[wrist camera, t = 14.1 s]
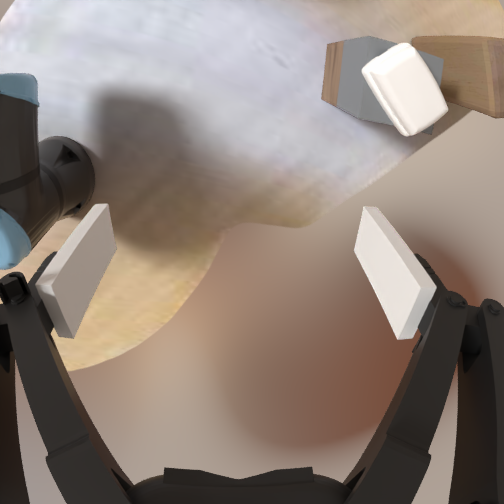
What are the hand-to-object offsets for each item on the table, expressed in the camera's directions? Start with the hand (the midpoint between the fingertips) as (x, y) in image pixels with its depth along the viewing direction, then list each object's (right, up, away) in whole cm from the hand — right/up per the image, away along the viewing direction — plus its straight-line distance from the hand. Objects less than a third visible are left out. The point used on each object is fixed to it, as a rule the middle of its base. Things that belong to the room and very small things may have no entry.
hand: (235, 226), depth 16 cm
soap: (+16, +15, +11) cm, 25 cm away
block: (+32, +30, +24) cm, 49 cm away
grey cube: (+16, +20, +18) cm, 32 cm away
